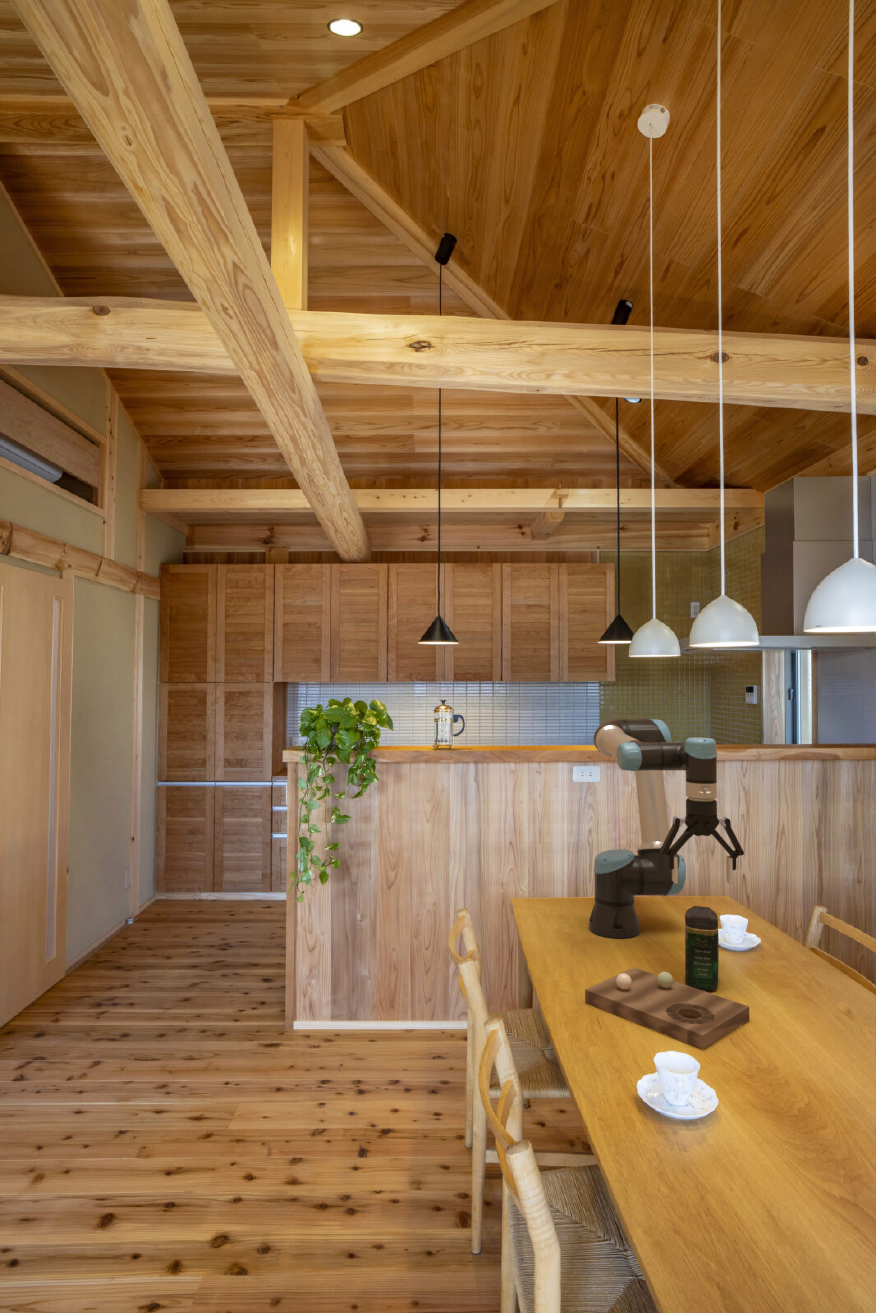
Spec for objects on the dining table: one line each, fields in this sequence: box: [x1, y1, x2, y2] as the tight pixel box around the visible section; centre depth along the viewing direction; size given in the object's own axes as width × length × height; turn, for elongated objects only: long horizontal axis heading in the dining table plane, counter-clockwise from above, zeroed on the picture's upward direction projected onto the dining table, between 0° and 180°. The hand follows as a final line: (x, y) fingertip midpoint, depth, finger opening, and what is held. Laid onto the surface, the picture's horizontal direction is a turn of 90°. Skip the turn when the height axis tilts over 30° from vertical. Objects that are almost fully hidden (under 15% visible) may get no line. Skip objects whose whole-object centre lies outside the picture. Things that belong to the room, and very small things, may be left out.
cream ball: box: [616, 972, 632, 990], centre depth 177 cm, size 4×4×4 cm
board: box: [584, 967, 750, 1051], centre depth 172 cm, size 30×20×3 cm, turn 41°
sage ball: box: [657, 971, 674, 988], centre depth 177 cm, size 4×4×4 cm
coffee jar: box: [684, 905, 720, 992], centre depth 187 cm, size 10×8×19 cm
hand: (702, 882), depth 191 cm, fingers open, 13 cm apart
